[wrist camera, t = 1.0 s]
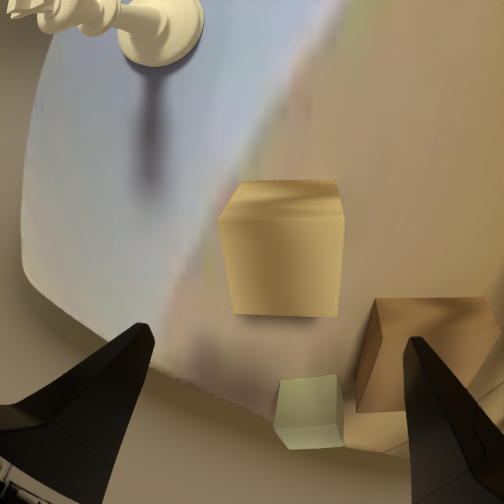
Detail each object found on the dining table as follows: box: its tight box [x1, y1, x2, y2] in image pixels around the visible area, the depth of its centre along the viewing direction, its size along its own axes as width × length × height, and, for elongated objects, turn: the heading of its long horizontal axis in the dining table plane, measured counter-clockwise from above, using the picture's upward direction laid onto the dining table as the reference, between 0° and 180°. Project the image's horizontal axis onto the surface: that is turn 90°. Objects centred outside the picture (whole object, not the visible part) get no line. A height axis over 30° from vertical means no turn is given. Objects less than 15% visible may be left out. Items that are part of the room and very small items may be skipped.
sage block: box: [273, 374, 344, 449], centre depth 23 cm, size 5×5×5 cm
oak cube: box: [218, 180, 345, 317], centre depth 15 cm, size 5×5×5 cm
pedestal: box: [355, 297, 502, 413], centre depth 19 cm, size 9×9×4 cm
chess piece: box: [7, 0, 204, 67], centre depth 8 cm, size 5×5×10 cm
